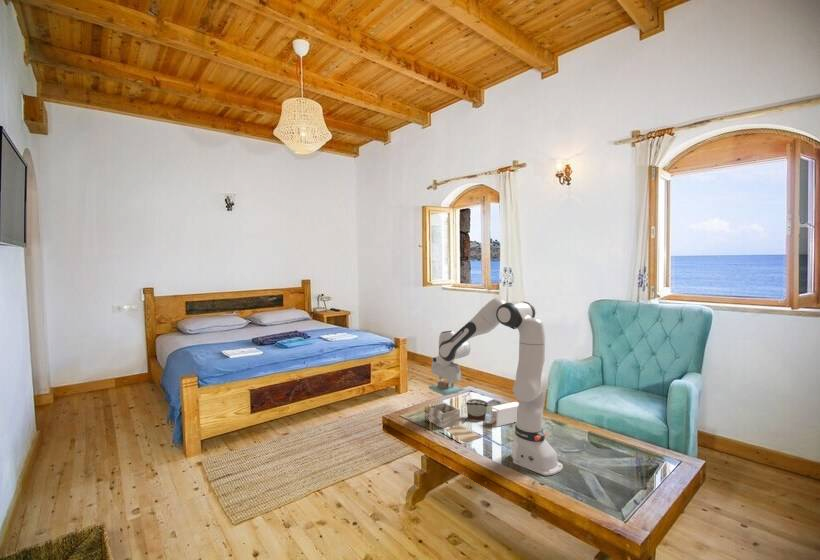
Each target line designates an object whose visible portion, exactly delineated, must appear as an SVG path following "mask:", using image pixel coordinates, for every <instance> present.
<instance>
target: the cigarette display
mask: <svg viewBox="0 0 820 560" xmlns="http://www.w3.org/2000/svg"><path fill="white" fill-rule="evenodd" d="M518 405H519V402H518V401H513V402H508V403H503V404H498V405H491V406H490V407H491V408H492V409H493V410H495V411H490V425H493V426H494V427H496V428H498V427H500V426H505V425H509V424H510V425H511V424H514V422H515V423H516V422H517V408H518Z"/></svg>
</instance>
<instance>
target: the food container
mask: <svg viewBox="0 0 820 560" xmlns="http://www.w3.org/2000/svg"><path fill="white" fill-rule="evenodd" d="M465 405H466V411H467V412H466V413H467V420H469V421H482V422H485V420H486V415H487V409H488V407H489V406H488V402H487V401H485V400H484V399H483V400H482V399H479V398H478V399H477V398H474V399H473V398H470V399H468V400H467V401H466V403H465Z"/></svg>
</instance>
